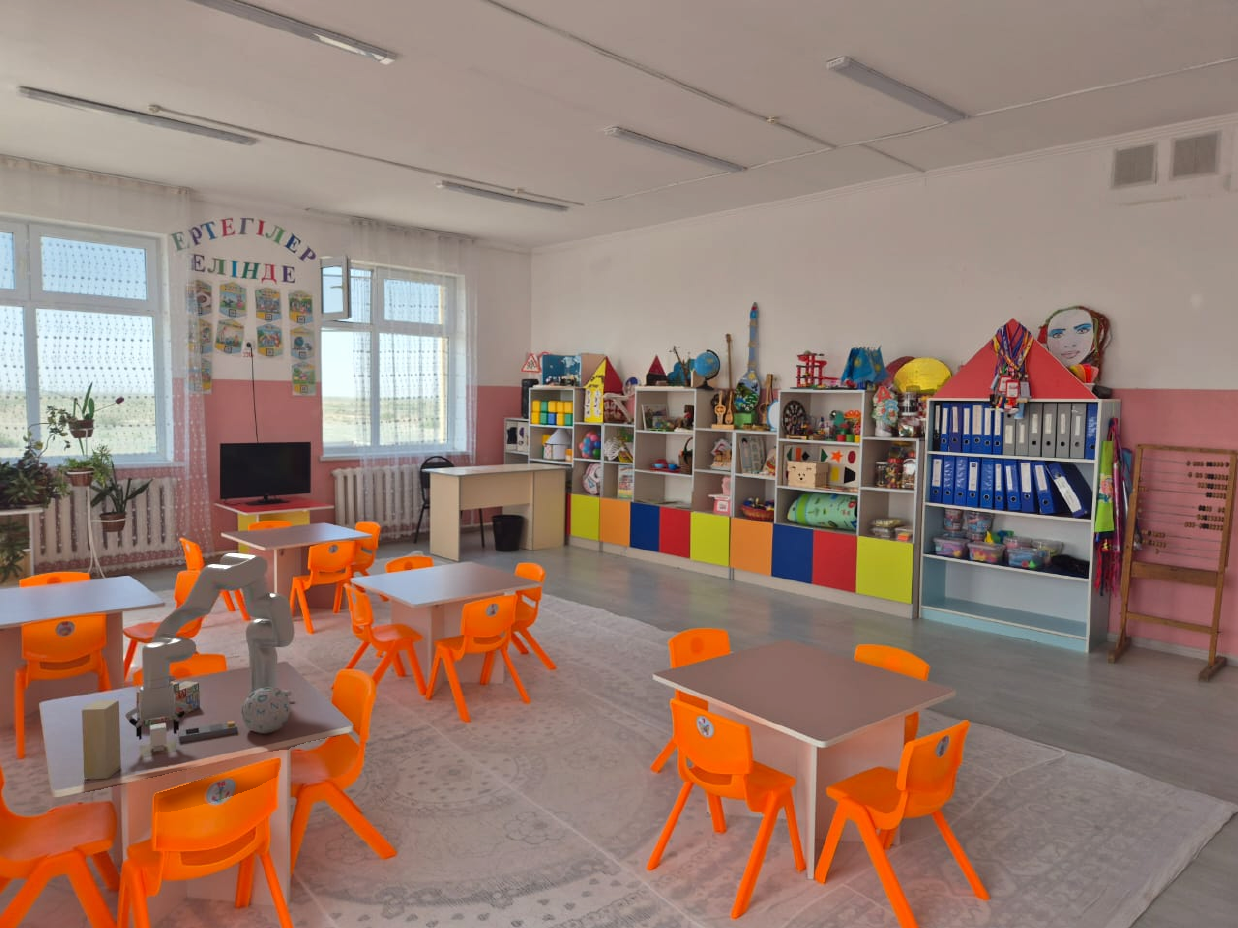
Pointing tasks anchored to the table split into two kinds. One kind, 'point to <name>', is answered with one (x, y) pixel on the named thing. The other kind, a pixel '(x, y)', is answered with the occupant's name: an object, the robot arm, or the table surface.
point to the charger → (158, 736)
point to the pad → (148, 751)
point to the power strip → (207, 731)
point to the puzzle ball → (266, 710)
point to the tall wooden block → (101, 739)
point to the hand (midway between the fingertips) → (157, 735)
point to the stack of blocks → (179, 699)
